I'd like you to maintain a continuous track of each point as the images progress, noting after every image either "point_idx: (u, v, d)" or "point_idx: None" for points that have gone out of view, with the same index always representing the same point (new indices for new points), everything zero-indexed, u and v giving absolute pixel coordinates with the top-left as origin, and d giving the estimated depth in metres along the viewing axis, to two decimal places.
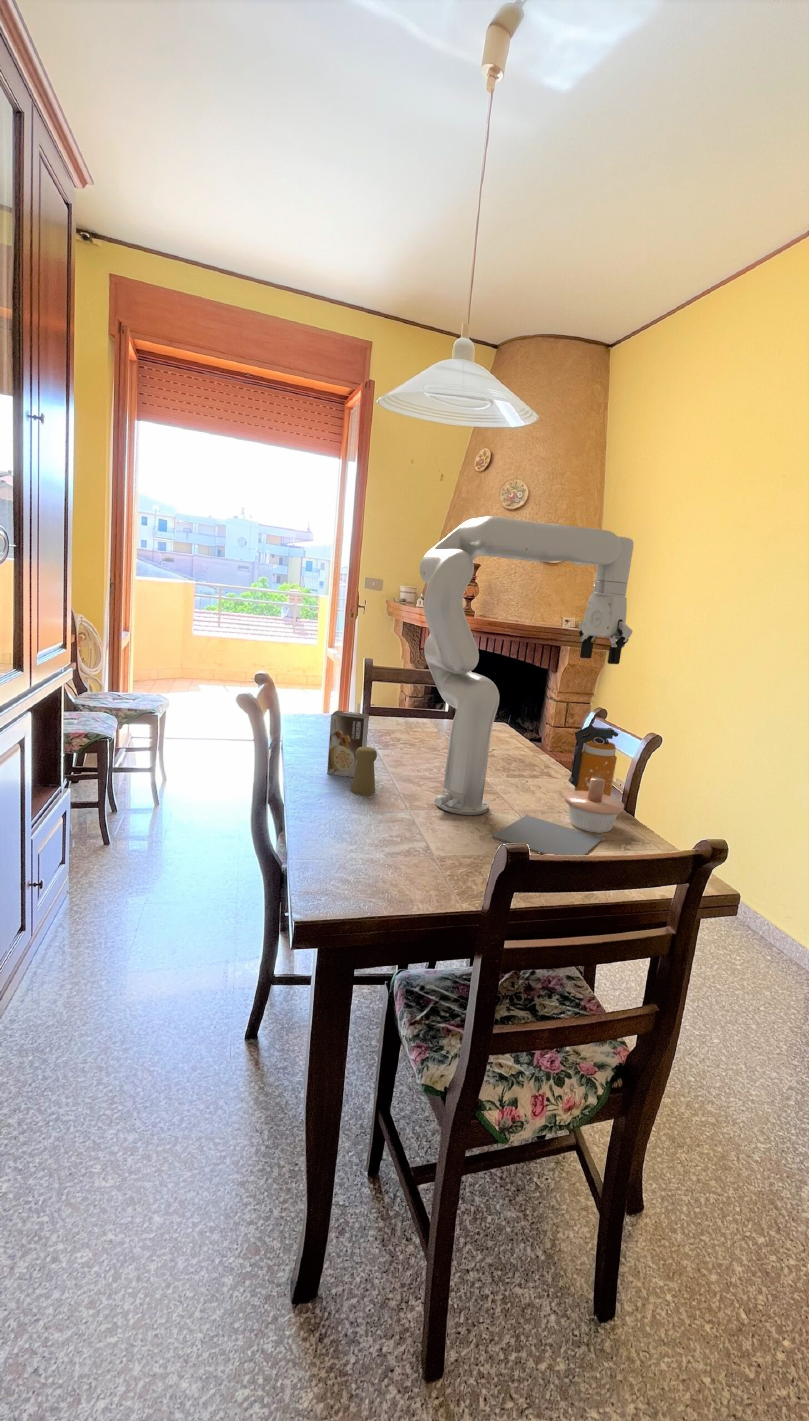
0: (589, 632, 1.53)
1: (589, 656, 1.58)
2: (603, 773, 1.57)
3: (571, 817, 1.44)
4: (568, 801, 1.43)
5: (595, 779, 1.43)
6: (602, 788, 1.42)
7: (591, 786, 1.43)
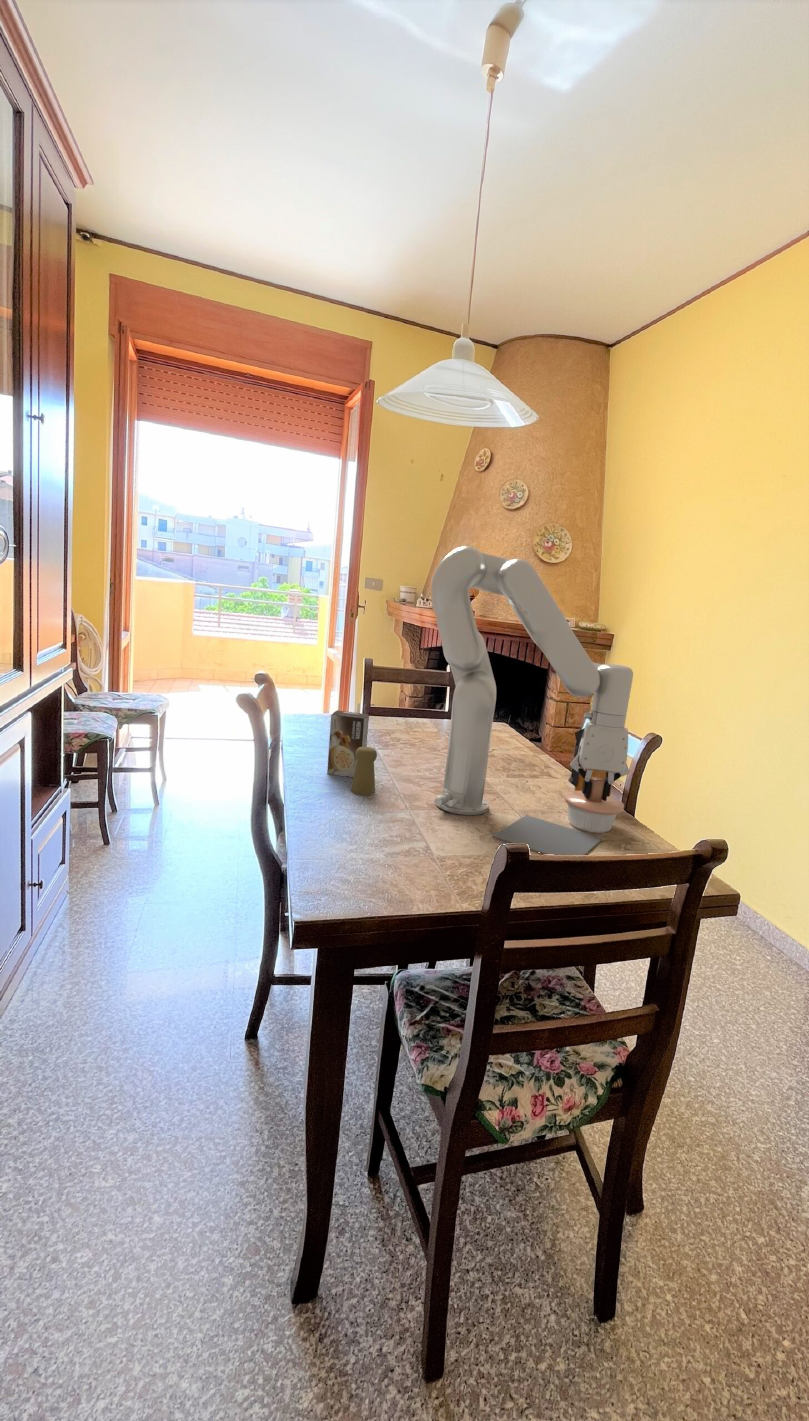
0: (595, 767, 1.40)
1: None
2: (603, 773, 1.57)
3: (570, 817, 1.44)
4: (568, 801, 1.43)
5: (595, 779, 1.43)
6: (602, 788, 1.42)
7: (591, 786, 1.43)
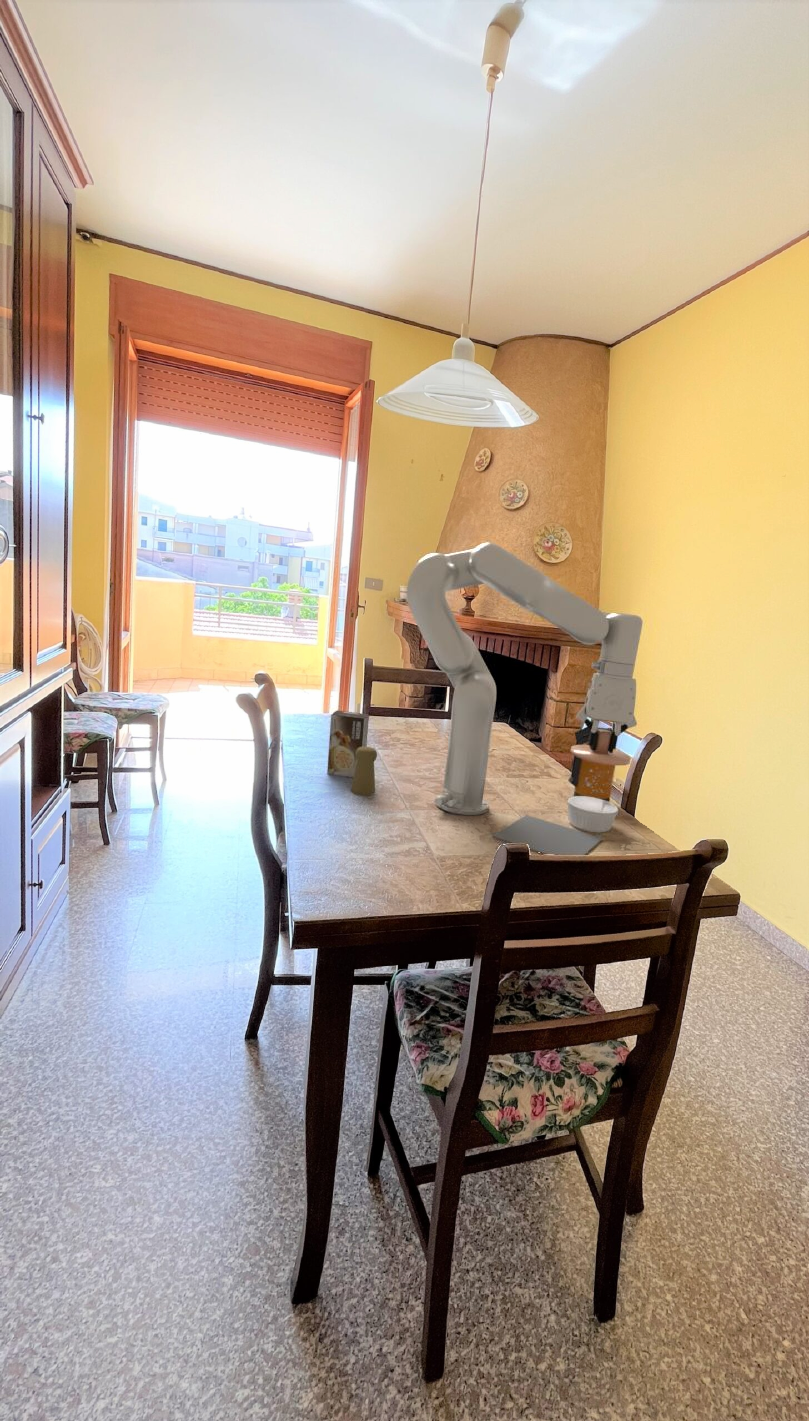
0: (602, 717, 1.38)
1: None
2: (603, 773, 1.57)
3: (570, 817, 1.44)
4: (574, 752, 1.41)
5: (602, 731, 1.41)
6: (608, 740, 1.40)
7: (598, 738, 1.41)
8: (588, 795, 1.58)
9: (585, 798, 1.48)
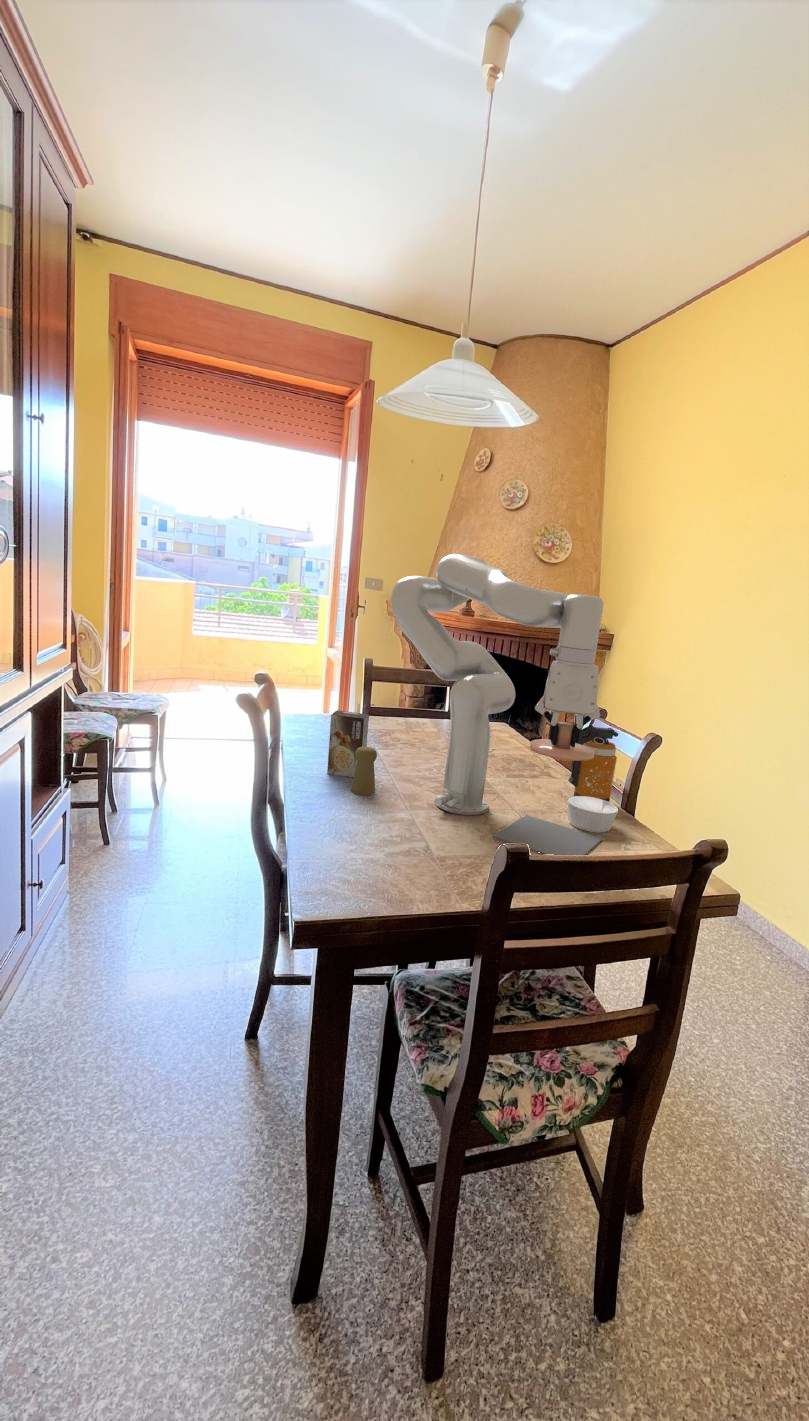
0: (562, 708, 1.26)
1: None
2: (603, 773, 1.57)
3: (570, 817, 1.44)
4: (532, 747, 1.29)
5: (562, 723, 1.29)
6: (570, 733, 1.29)
7: (558, 731, 1.29)
8: (588, 795, 1.58)
9: (585, 798, 1.48)
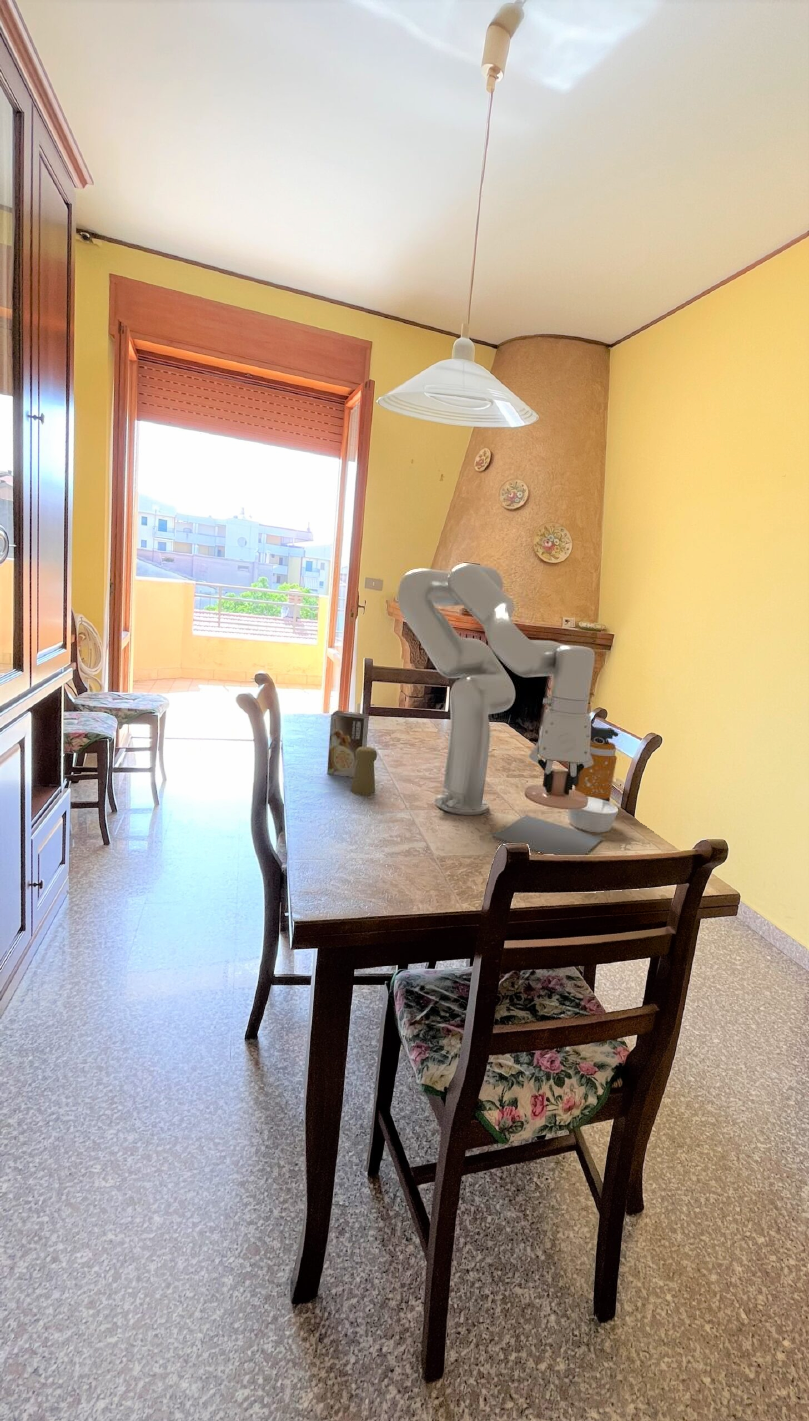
0: (556, 757, 1.28)
1: None
2: (603, 773, 1.57)
3: (570, 817, 1.44)
4: (527, 795, 1.31)
5: (556, 771, 1.31)
6: (564, 781, 1.30)
7: (552, 779, 1.31)
8: (588, 795, 1.58)
9: None
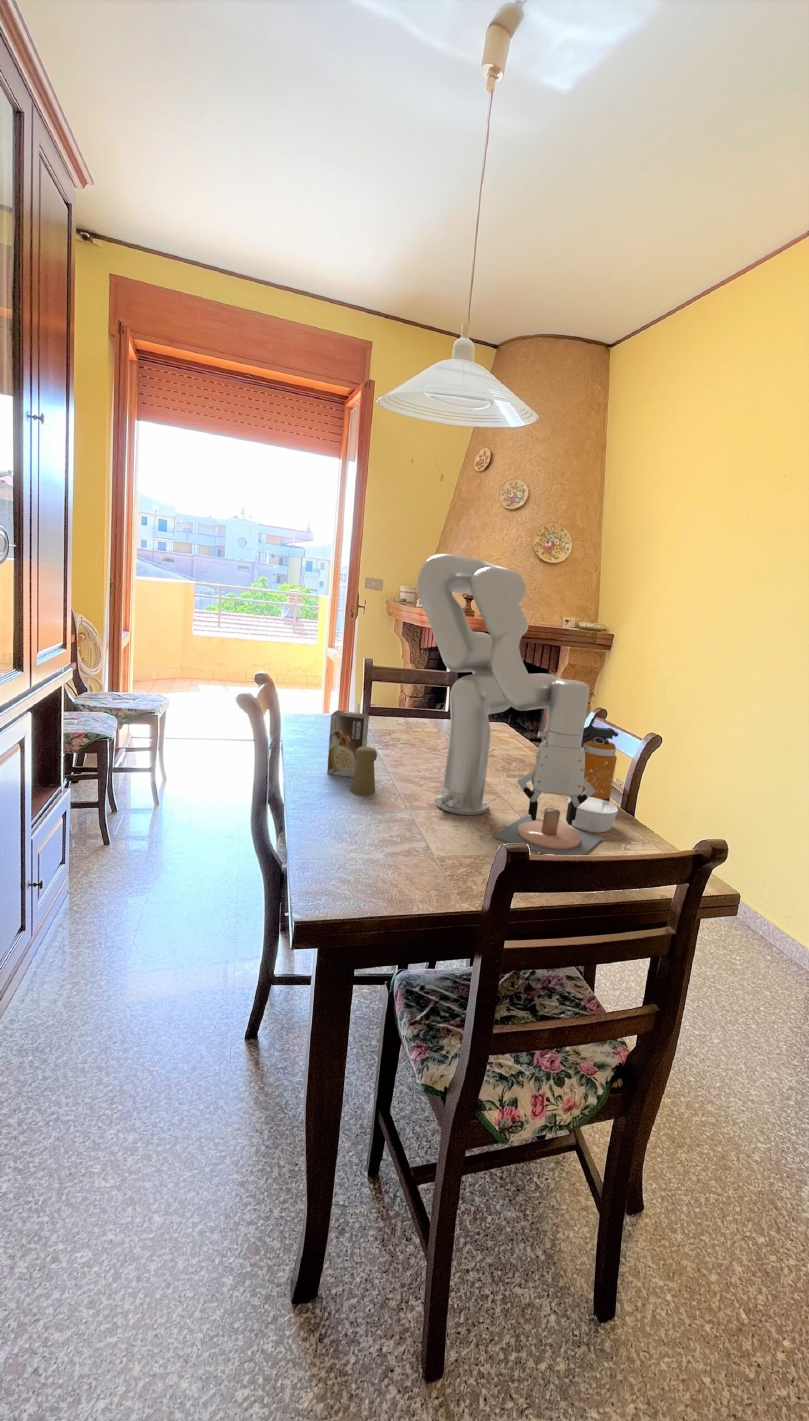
0: (550, 790, 1.30)
1: None
2: (603, 773, 1.57)
3: None
4: (520, 834, 1.33)
5: (549, 810, 1.33)
6: (556, 820, 1.32)
7: (545, 818, 1.33)
8: None
9: None
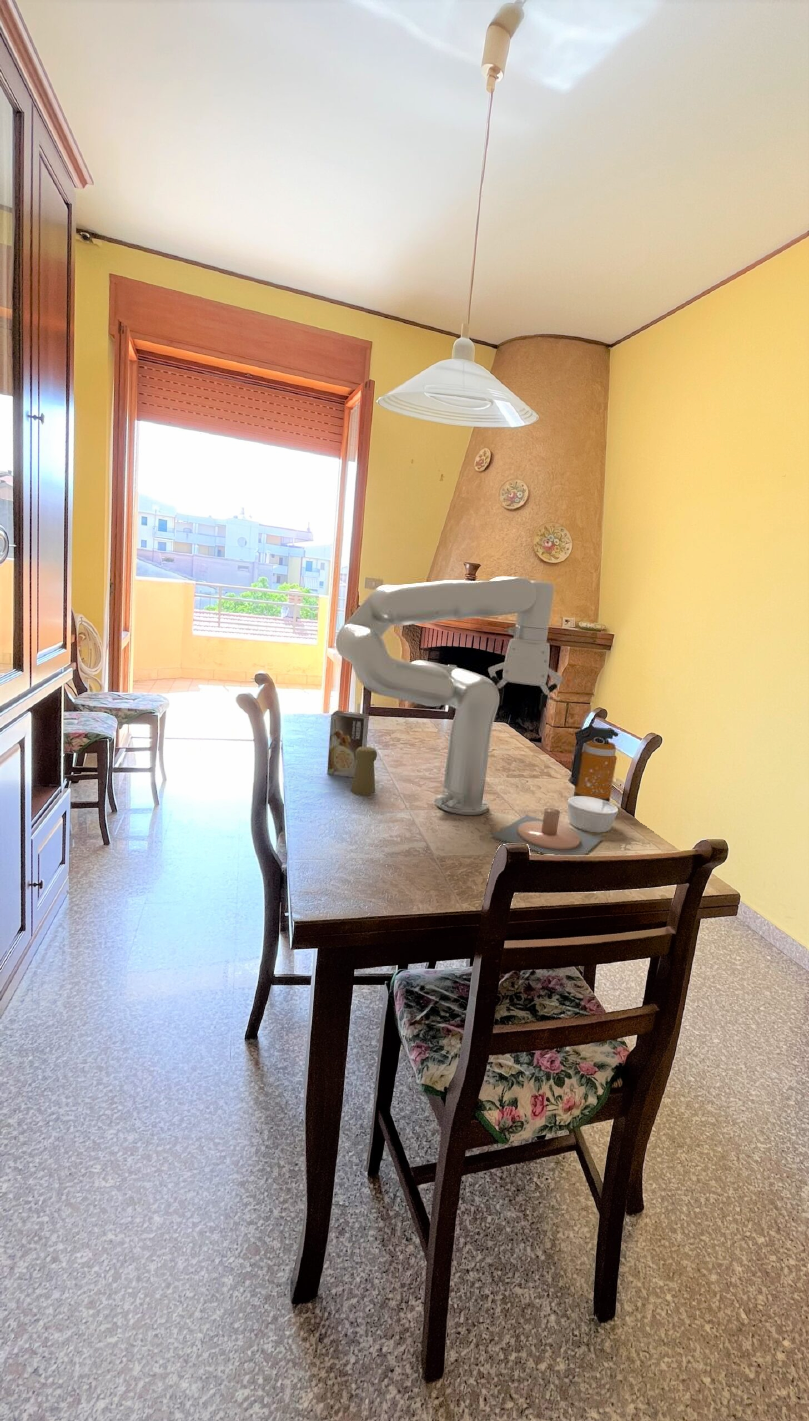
0: (517, 680, 1.45)
1: None
2: (603, 773, 1.57)
3: (570, 817, 1.44)
4: (520, 834, 1.33)
5: (549, 810, 1.33)
6: (556, 820, 1.32)
7: (545, 818, 1.33)
8: (588, 795, 1.58)
9: (585, 798, 1.48)
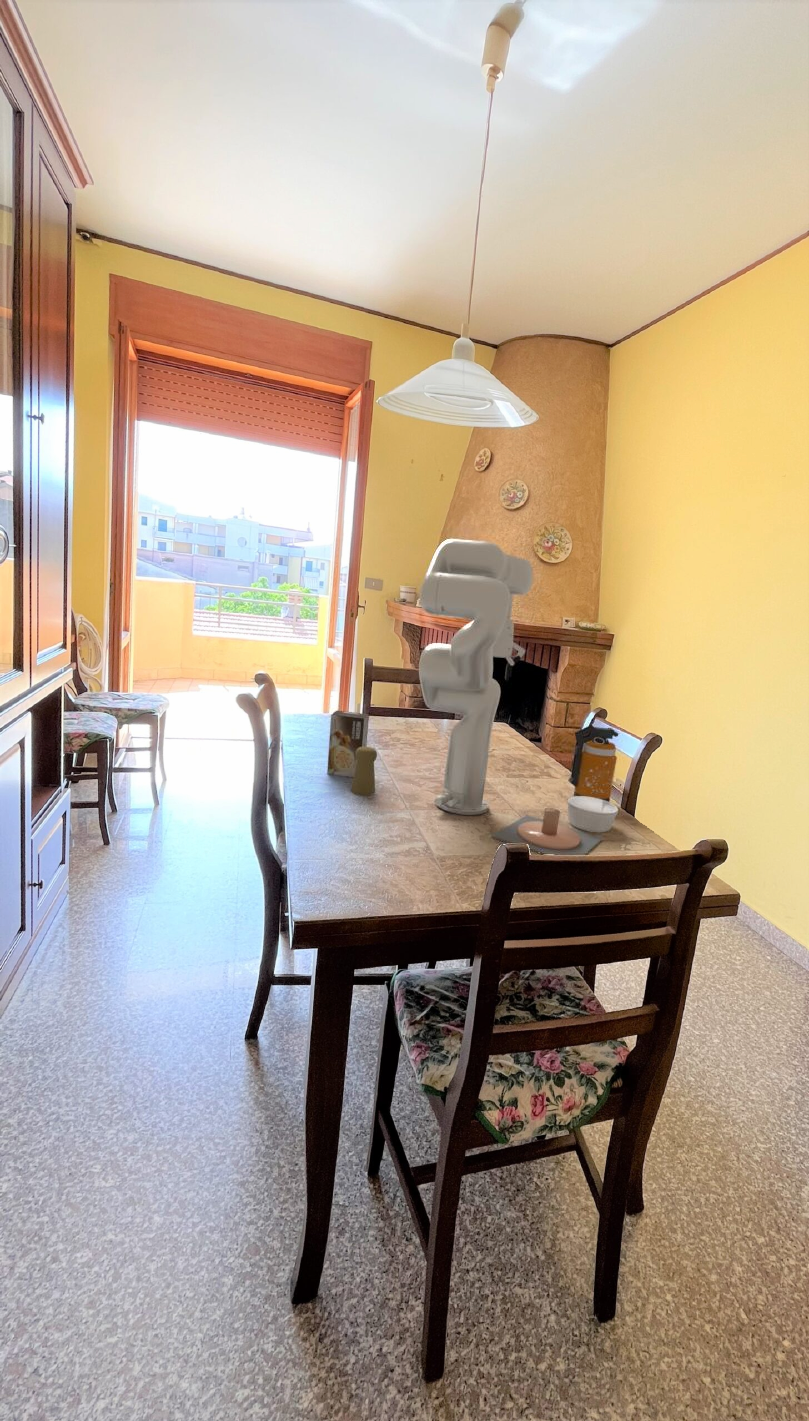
0: None
1: None
2: (603, 773, 1.57)
3: (570, 817, 1.44)
4: (520, 834, 1.33)
5: (549, 810, 1.33)
6: (556, 820, 1.32)
7: (545, 818, 1.33)
8: (588, 795, 1.58)
9: (585, 798, 1.48)
